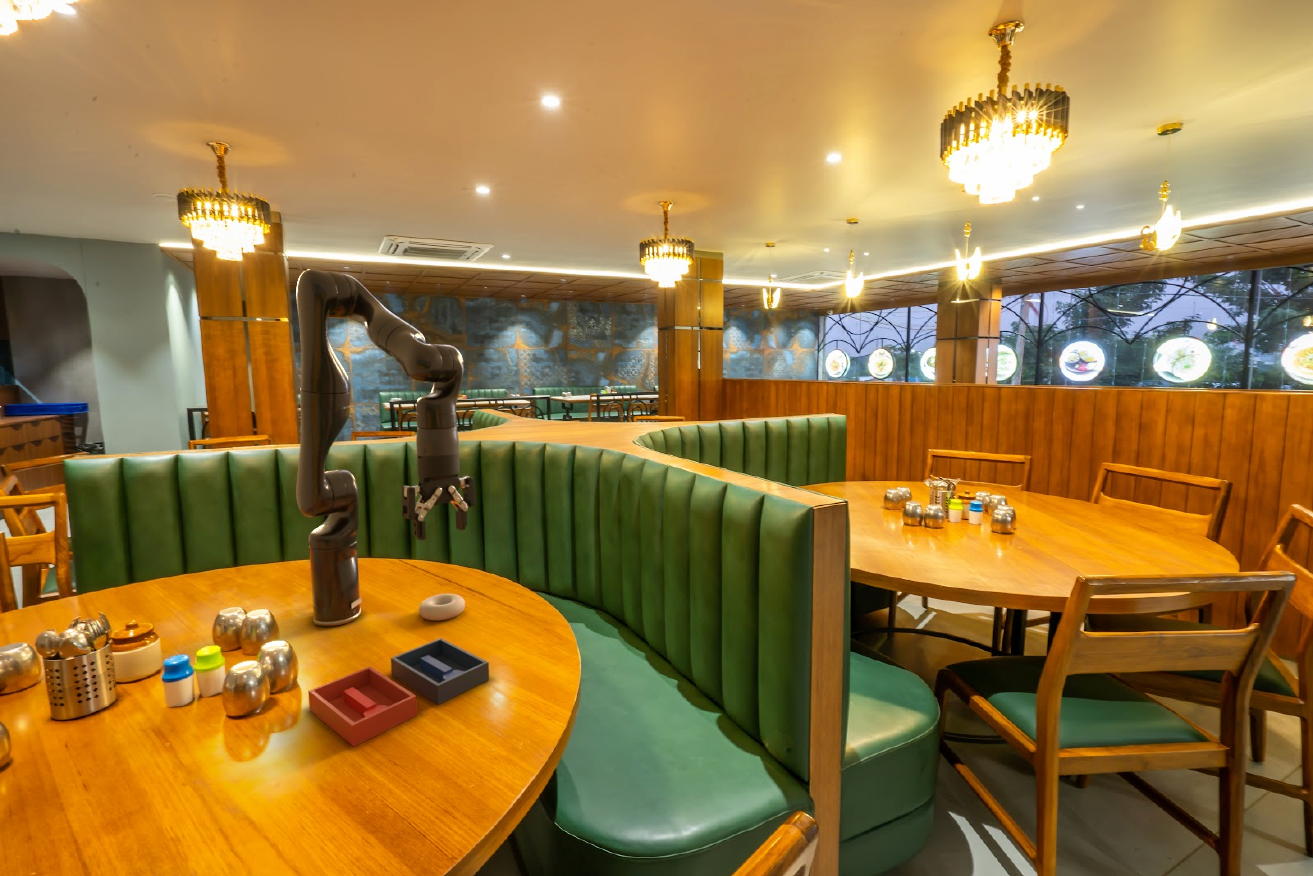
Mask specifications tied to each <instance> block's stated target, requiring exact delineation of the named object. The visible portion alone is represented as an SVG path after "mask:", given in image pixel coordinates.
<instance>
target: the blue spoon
mask: <svg viewBox="0 0 1313 876" xmlns="http://www.w3.org/2000/svg"><path fill="white" fill-rule="evenodd" d="M420 663H421V669H423V670H425V671H426V672H428V673H430V674H432V675H433V676H435V677H437V678H438V679H440V680H442V681H445V680H447V679H450V678H452V677H454V676H456V675H458V674H460V673H463V671H461V670H453V669H452V668H451V667H449V666H447V665H445V664H443V663H442V662H440V661H438V660H436V659H434V658H433V657H431V656H429V655H427V656H424V657H422V658H420Z"/></svg>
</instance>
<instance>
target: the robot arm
mask: <svg viewBox="0 0 1313 876" xmlns="http://www.w3.org/2000/svg"><path fill="white" fill-rule="evenodd" d="M297 280H298V281H297V285H296V306H297V317H298V327H299V328H298V329H299V338H300V339H299V341H300V386H299V387H300V391H299V397H300V398H299V399H300V400H299V403H300V404H299V405H300V407H299V409H300V441H299V442H300V443H299V444H300V445H299V454H298V455H299V456H298V465H297V474H296V483H295V497H296V504H297V507H298V510H299V511H300V513H301V514H302V515H303V516H304V517H306V518H318V517H324V516H328V517H327V518H326V519H325V521H324V522H322V523H321V524H320V525H319V526H318V527H316V528H314V529H313V530H311V532H309V535H308V538H307V539H308V552H309V566H310V581H311V582H310V583H311V597H312V598H311V599H312V612H313V616H312V619H313V620H312V621H313V622H312V623H313V624H314V625H316V626H317V627H318V626H319V627H337V626H341V625H345V624H348V623H351V622H353V621H356V620H357V619H359V618H360V617H361V616H362V608H361V603H362V602H363V601H362V596H361V594H360V593H361V592H360V576H359V574H360V573H359V559H358V547H357V546H358V543H357V534H358V530H359V524H360V523H359V487H358V484H357V480H356V478H355V476H354V474H353V473H351V472H350V471H349V470H347V469H333V470H328V471H326V463H327V458H328V455H329V453H330V451H331V447H332V446H333V444H334V442H335V441H336V439H337V438H338V437H339V435H340V433H341V431H342V430H343V428H344V426H345V425H346V423H347V421H348V419H349V417H350V414H351V405H352V404H351V399H352V392H351V391H352V385H351V380H350V377H349V375H348V373H347V371H346V370H345V368H344V366H343V364H342V363H341V361H340V360H339V358H338V356H337V355H336V353H335V351H334V350H333V347H332V344H331V342H330V336H329V328H328V319H339V320H340V319H342V320H343V319H349V320H351V321H352V320H353V321H354V322H358V323H360V324H362V325H363V326H364V327H365V332H366V334H367V336H368V339H369V340H370V341H371V342H372V344H373V345H375V346H376V347H377V348H379V350H381V351H383V352H384V353H385V354H387V355H388V356H390V357H391V358H393V359H394V361H395V363H397V365H398V366H399V367H400V369H401V370H402V371H403V373H404V374H405V375H406V376H407V377H408V378H410V379H411V380H413V381H415V382H419V383H425V384H429V383H433V385H432V389H431V391H430V393H428V394H426V395H423V396H421V397H419V398H418V399H417V401H416V406H415V407H416V408H415V409H416V410H415V411H416V428H417V429H416V463H417V464H416V465H417V476H418V482H417V484H416V485H410V486H409V485H403V486H402V487H401V517H402V518H404V519H408V520H410V521H412V530H413V533H412V534H413V536H414V537H415V538H416V540H418V541H425V540H426V538H427V536H426V535H427V533H426V532H427V529H426V520H425V517H426V516H427V515H428V513H429V512H430V511H431V510H432V508H433V507H434V506H440V505H442V504H452V506H454V507H455V509H456V510H455V528H456V530H459V531H464V530H466V527H467V526H468V511H469V509H470V508H472V507H475V506H476V505H477V499H476V498H477V497H476V487H475V486H476V485H475V478H474V477H473V476H469V475H462V477H460V476H459V474H460V472H461V468H460V467H461V465H460V441H459V433H458V422H457V404H458V399H459V395H460V391H461V386H462V382H463V378H464V373H465V366H464V359H463V356H462V354H461V352H460V351H459V350H458V349H457V348H456V347H455V346H453V345H450V344H435V343H434V344H433V343H426V339H425V336H424V335H423V333H422V332H421V331H420V330H418V329H417V328H415V327H414V326H413V325H411V324H410V323H408V322H406V321H405V320H403V319H402V318H401V317H399V316H398V315H395V314H394V313H393V312H391V311H390V310H389V309H388V308H387V307H386V306H384V305H383V304H382V303H381V301H380V300H378V299H377V298H376V297H375V296H374V295H373V294H372V293H371V292H370V291H369V290H368V289H367V288H366V287H365V286H364V285H363V284H362V283H361V282H360V281H359V280H357V279H356V278H354V277H353V276H352V275H349V274H346V273H341V272H336V271H329V270H320V269H313V268H312V269H310V268H309V269H306V270H304V271H303V272H302V273H301V274H300V276H299V278H298V279H297ZM460 487H461V488H462V490H461V491H462V496H461V494H460V493H459V492H458V491H459V489H460ZM418 494H419V495H420V497H419V498H418V499H417V501H416V498H417V497H418Z"/></svg>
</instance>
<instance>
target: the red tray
mask: <svg viewBox="0 0 1313 876" xmlns="http://www.w3.org/2000/svg"><path fill="white" fill-rule="evenodd" d="M352 687H354V688H355V689H356V690H358V691H359V692H361V693H362V694H363V695H365V696H366V697H368V698H369V699H370V700H372V701H373V702H375V703H376V705H377V706H378V705H385V706H387V708H385V709H382V710H380V711H378V712H376V713H374V714H372V715H369V716H367V717H365V718H364V716H362V715H361V714H360V713H358V712H357V711H356V710H354V709H353V708H352V707H350V706H349V705H348V704H346V703H345V702H344V692H343V691H344V690H347V689H349V688H352ZM307 692H308V705H309V708H308V709H309V711H310V712H311V713H312V714H313V715H315V716H316V717H317V718H319V719H320V720H321V721H322V722H323V723H324V724H326V726H328V727H329V728H330V729H331V730H333V732H334V733H336V734H337V735H339V736H340V737H341V738H342V739H343V740H345V742H347V743H348V744H349V745H351V747H353V748H355V747H356V746H359V745H360V744H362V743H364V742H367V741H368V740H370V739H373V738H374V737H376V736H379V735H380V734H382V733H385V732H387V731H389V730H390V729H392V728H394V727H397V726H398V725H401V724H404V723H405V722H407V721H409V720H411V719H413V718H415V717H417V716H418V706H417V705H418V704H417V696H416V695H415V694H414V693H412V692H411V691H409V690H407V689H406V688H404V687H403V686H402V685H400V684H398V683H396V682H395V681H393V680H392V679H390V678H389V677H387V676H385V675H384V674H382V673H381V672H379V671H378V670H376V669H375V668H373V667H372V666H368V667H364V668H362V669H360V670H357V671H355V672H352V673H349V674H347V675H345V676H341V677H339V678H337V679H334V680H332V681H330V682H326V683H324V684H322V685H319V686H316V687H314V688H312V689H309V690H308V691H307Z"/></svg>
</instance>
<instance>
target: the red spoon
mask: <svg viewBox="0 0 1313 876" xmlns="http://www.w3.org/2000/svg"><path fill="white" fill-rule="evenodd" d="M343 692H344V702H345V703H346V704H348V705H349V706H350V707H352V708H353V709H354V710H356V711H357V712H358V713H360V714H361V715H362V716H364V718H365V717H367V716H369V715H372V714H374V713H376V712H378V711H380V710H382V709H385V708H387V706H385V705H378V706H377V705H376V703H375V702H373V701H372V700H370V699H369V698H368V697H366V696H365V695H363V694H362V693H361V692H359V691H358V690H356V689H355V688H354V687H352V688H349V689H347V690H344V691H343Z"/></svg>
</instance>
